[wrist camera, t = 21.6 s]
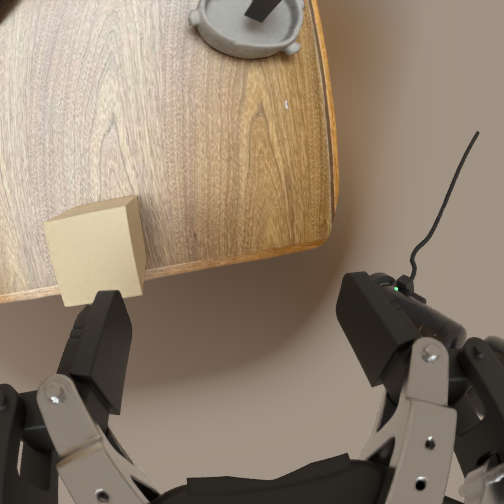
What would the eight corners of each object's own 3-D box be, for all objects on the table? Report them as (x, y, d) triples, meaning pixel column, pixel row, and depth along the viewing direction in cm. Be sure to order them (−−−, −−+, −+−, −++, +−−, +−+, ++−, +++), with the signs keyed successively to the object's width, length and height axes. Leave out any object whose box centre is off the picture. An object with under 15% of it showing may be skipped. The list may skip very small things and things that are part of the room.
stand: (137, 194, 31) (125, 205, 21) (147, 258, 33) (142, 295, 23) (76, 206, 29) (42, 223, 19) (89, 268, 31) (65, 307, 21)
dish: (176, 42, 26) (180, 24, 22) (217, -23, 24) (226, -41, 19) (278, 81, 32) (295, 70, 27) (305, 14, 29) (322, 1, 25)
